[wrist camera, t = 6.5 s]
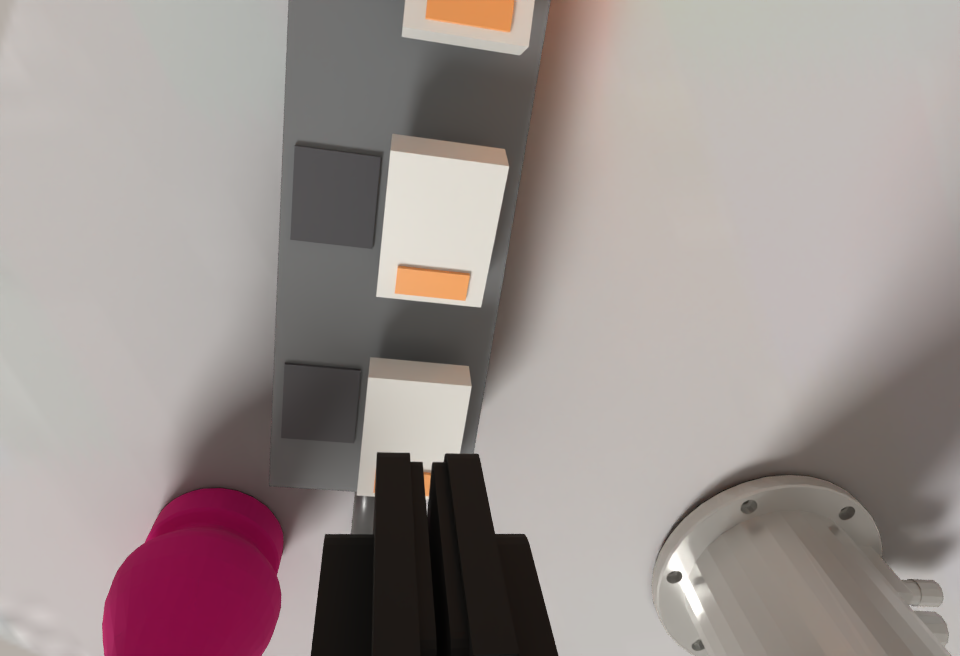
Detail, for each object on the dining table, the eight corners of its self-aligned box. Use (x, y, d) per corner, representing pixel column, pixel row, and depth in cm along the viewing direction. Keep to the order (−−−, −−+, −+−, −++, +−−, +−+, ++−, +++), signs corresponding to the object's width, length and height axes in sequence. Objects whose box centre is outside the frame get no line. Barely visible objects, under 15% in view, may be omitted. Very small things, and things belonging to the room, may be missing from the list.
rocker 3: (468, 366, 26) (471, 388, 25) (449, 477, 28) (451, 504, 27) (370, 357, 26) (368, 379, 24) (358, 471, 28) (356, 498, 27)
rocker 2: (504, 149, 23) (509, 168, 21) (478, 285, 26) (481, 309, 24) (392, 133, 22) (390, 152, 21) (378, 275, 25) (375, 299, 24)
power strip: (549, -148, 25) (586, -189, 20) (441, 534, 37) (447, 616, 32) (319, -194, 24) (296, -251, 19) (282, 525, 35) (262, 609, 30)
